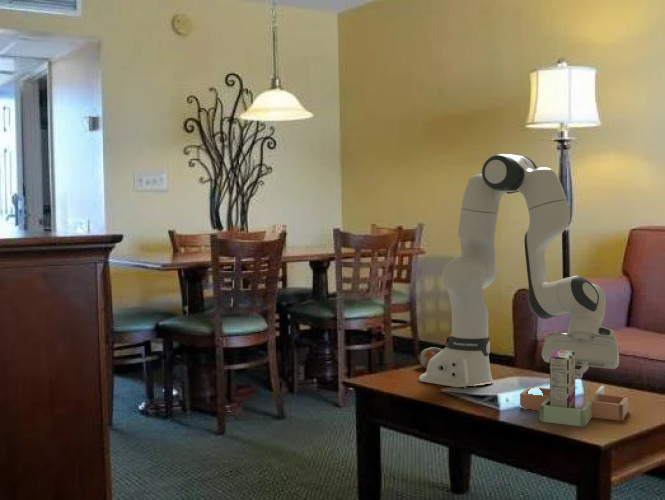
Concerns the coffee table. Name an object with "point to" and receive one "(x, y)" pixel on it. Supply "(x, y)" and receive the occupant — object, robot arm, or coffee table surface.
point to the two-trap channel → (598, 408)
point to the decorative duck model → (428, 355)
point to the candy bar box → (562, 379)
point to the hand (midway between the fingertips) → (575, 376)
